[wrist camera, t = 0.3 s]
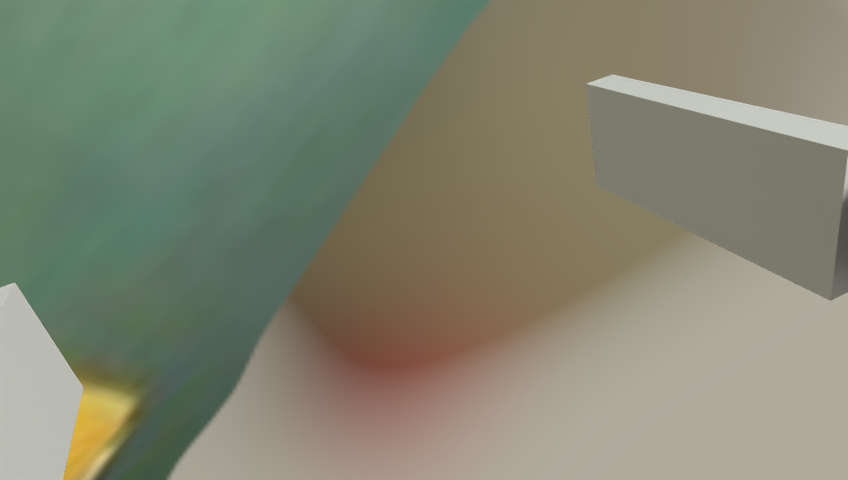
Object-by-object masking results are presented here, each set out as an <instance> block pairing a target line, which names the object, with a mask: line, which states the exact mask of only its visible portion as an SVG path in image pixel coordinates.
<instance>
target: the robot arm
mask: <svg viewBox="0 0 848 480" xmlns="http://www.w3.org/2000/svg"><path fill="white" fill-rule="evenodd" d="M586 86H587V98H588V107H589V119H590V129H591V139H592V149H593V160H594V170H595V181H596V186H598V187H600V188H602V189H604V190H606V191H608V192H610V193H612V194H614V195H616V196H618V197H620V198H622V199H624V200H626V201H629V202H630V203H633V204H634V205H636V206H639V207H641V208H643V209H645V210H647V211H649V212H651V213H653V214H655V215H657V216H659V217H661V218H663V219H665V220H667V221H669V222H671V223H673V224H675V225H677V226H679V227H681V228H683V229H686V230H687V231H689V232H692V233H694V234H696V235H698V236H700V237H702V238H704V239H706V240H708V241H710V242H712V243H714V244H716V245H718V246H720V247H722V248H724V249H726V250H728V251H730V252H732V253H734V254H736V255H738V256H741V257H742V258H744V259H747V260H749V261H751V262H753V263H755V264H757V265H759V266H761V267H763V268H765V269H767V270H769V271H771V272H773V273H775V274H777V275H779V276H781V277H783V278H785V279H787V280H789V281H792V282H793V283H795V284H797V285H800V286H802V287H804V288H806V289H808V290H810V291H812V292H814V293H816V294H818V295H820V296H822V297H824V298H826V299H828V300H830V301H831V300H833V299H835V298H837V297H839V296H841V295H843V294H845V293H847V292H848V126H845V125H840V124H835V123H831V122H827V121H822V120H818V119H813V118H808V117H804V116H799V115H795V114H790V113H786V112H781V111H777V110H772V109H767V108H763V107H758V106H754V105H749V104H744V103H740V102H735V101H731V100H726V99H722V98H717V97H712V96H708V95H703V94H699V93H694V92H690V91H685V90H681V89H676V88H671V87H667V86H662V85H658V84H653V83H648V82H644V81H639V80H635V79H630V78H626V77H620V76H616V75H610V76H607V77H604V78H601V79H599V80H596V81H593V82H590V83H587V84H586ZM82 392H83V386H82V385H81V383H80V382H79V380H78V379H77V377H76V376H75V374H74V373H73V371H72V370H71V368H70V367H69V365H68V363H67V362H66V360H65V359H64V357H63V356H62V354H61V353H60V351H59V350H58V348H57V347H56V345H55V343H54V342H53V340H52V339H51V337H50V336H49V334H48V333H47V331H46V330H45V328H44V327H43V325H42V323H41V322H40V320H39V319H38V317H37V316H36V314H35V313H34V311H33V310H32V308H31V307H30V305H29V303H28V302H27V300H26V299H25V297H24V296H23V294H22V293H21V291H20V290H19V288H18V287H17V285H16V283H12V284H9V285H7V286H4V287H1V288H0V480H63V476H64V472H65V468H66V463H67V459H68V454H69V450H70V445H71V441H72V436H73V432H74V427H75V423H76V418H77V414H78V409H79V405H80V400H81V396H82Z"/></svg>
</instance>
